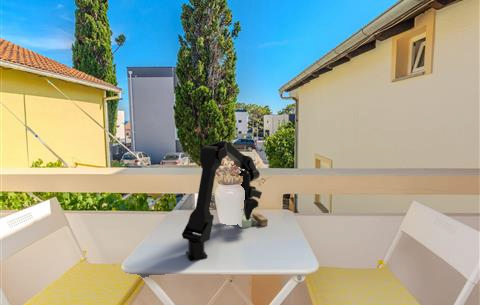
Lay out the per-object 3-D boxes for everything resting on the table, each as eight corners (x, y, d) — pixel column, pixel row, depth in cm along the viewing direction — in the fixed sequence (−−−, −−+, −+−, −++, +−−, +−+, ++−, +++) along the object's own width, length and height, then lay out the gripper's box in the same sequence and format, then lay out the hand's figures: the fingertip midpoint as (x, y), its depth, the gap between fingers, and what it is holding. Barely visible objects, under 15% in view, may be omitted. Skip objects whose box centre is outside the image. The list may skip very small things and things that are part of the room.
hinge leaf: (258, 225, 130) (258, 219, 130) (241, 228, 127) (241, 222, 127) (251, 220, 137) (251, 214, 136) (235, 223, 133) (235, 217, 133)
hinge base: (267, 225, 131) (267, 219, 130) (254, 227, 128) (255, 221, 128) (257, 218, 140) (257, 212, 139) (245, 220, 137) (245, 214, 137)
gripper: (269, 186, 124) (268, 221, 126) (251, 178, 141) (250, 208, 143) (246, 189, 119) (245, 225, 121) (230, 180, 136) (229, 211, 138)
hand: (243, 216), depth 131 cm, fingers open, 9 cm apart
